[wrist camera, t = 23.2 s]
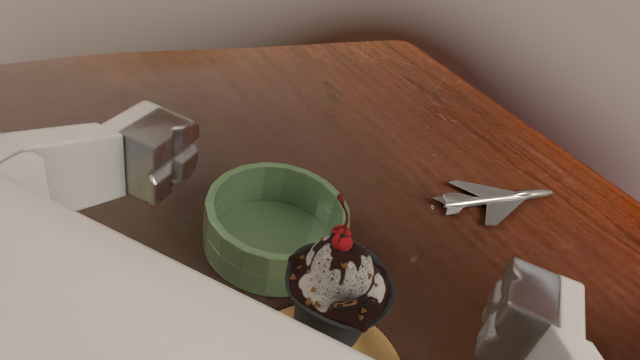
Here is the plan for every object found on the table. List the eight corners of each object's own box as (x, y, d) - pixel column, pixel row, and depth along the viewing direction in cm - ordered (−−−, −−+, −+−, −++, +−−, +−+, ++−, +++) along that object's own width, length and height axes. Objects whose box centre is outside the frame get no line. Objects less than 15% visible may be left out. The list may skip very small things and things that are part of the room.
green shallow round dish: (289, 185, 53) (296, 150, 51) (366, 265, 46) (379, 230, 44) (178, 219, 46) (179, 181, 44) (249, 320, 39) (256, 282, 37)
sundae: (289, 318, 39) (329, 164, 30) (368, 360, 38) (435, 211, 29) (244, 387, 34) (275, 226, 25) (333, 438, 33) (401, 286, 24)
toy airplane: (573, 216, 59) (582, 201, 58) (423, 239, 51) (430, 223, 49) (530, 175, 64) (538, 161, 63) (388, 190, 56) (394, 174, 55)
